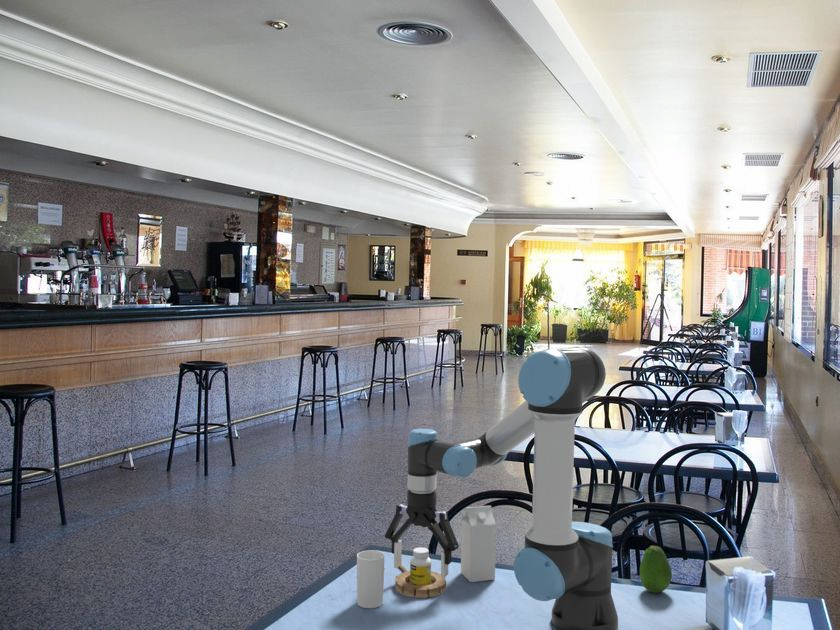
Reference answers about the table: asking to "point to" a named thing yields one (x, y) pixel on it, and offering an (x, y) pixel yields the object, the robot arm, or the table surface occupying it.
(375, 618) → the table surface
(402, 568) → the brown wooden stick
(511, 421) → the robot arm
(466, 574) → the milk carton
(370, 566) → the mug
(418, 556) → the supplement bottle
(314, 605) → the table surface
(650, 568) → the fruit
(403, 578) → the bead ring
